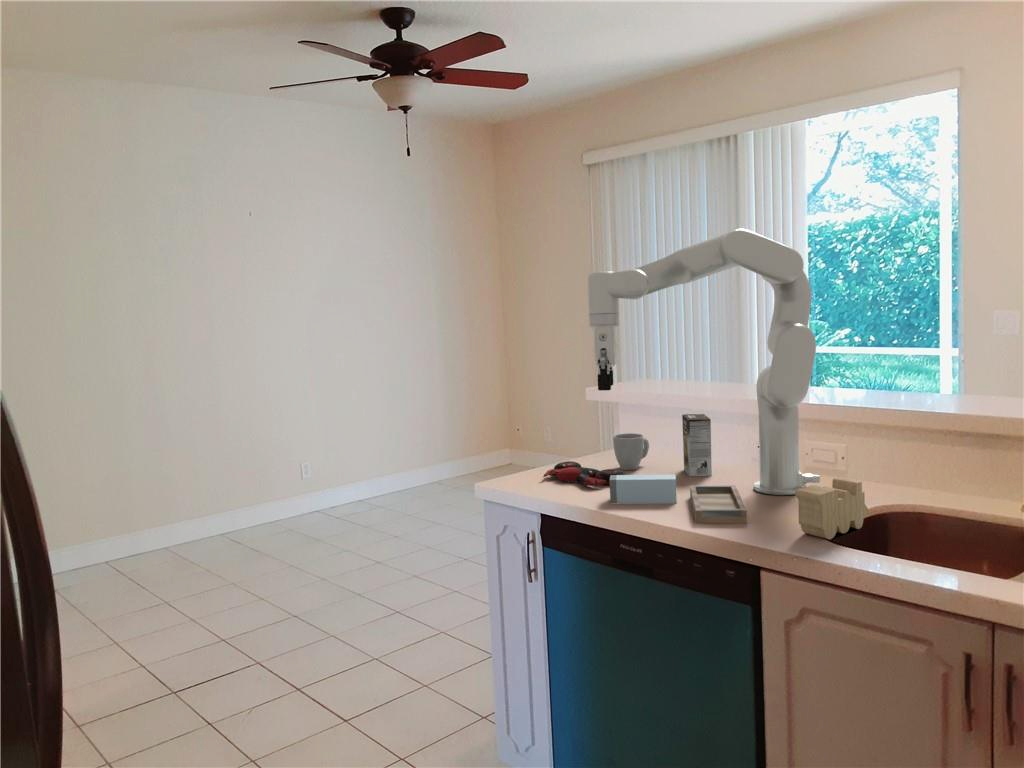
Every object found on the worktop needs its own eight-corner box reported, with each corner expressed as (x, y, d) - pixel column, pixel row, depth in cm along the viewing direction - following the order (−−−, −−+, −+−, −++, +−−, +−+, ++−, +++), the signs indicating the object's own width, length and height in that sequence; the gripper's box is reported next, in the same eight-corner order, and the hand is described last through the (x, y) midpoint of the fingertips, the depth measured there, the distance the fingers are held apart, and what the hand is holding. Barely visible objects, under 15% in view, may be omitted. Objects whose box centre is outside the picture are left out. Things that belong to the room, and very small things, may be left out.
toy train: (868, 526, 165) (868, 479, 164) (819, 543, 156) (818, 494, 155) (845, 520, 170) (844, 475, 169) (795, 537, 161) (794, 489, 160)
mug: (627, 472, 225) (626, 439, 224) (608, 468, 232) (607, 436, 231) (658, 466, 232) (657, 434, 230) (638, 461, 239) (637, 430, 238)
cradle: (690, 497, 195) (690, 485, 195) (735, 497, 193) (735, 485, 193) (696, 523, 173) (695, 510, 173) (747, 523, 171) (746, 510, 171)
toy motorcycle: (568, 474, 234) (527, 475, 224) (570, 457, 234) (529, 457, 224) (630, 490, 214) (587, 492, 204) (632, 471, 214) (589, 472, 204)
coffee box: (683, 469, 226) (681, 414, 224) (705, 468, 225) (704, 413, 224) (689, 476, 217) (687, 419, 215) (712, 475, 216) (711, 418, 215)
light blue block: (675, 498, 195) (675, 474, 195) (676, 503, 190) (675, 479, 190) (611, 498, 198) (610, 475, 197) (610, 503, 193) (609, 479, 193)
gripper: (617, 321, 189) (618, 391, 191) (620, 319, 206) (622, 383, 208) (585, 322, 190) (588, 392, 192) (592, 320, 207) (593, 384, 209)
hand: (605, 387), depth 200 cm, fingers open, 9 cm apart
